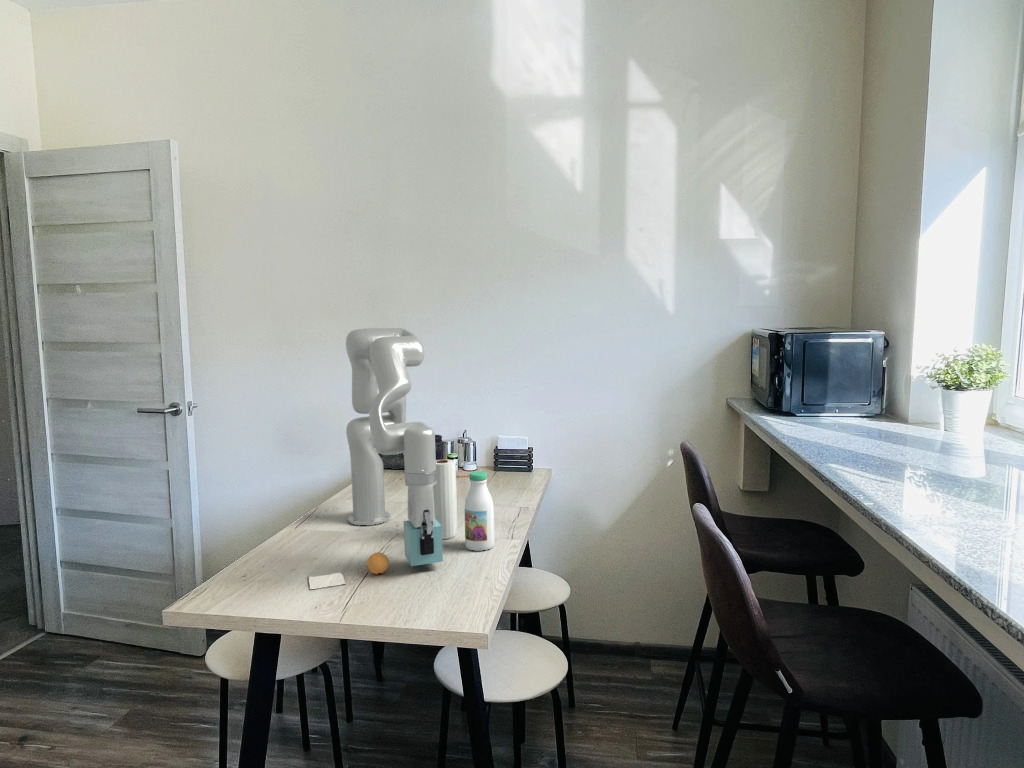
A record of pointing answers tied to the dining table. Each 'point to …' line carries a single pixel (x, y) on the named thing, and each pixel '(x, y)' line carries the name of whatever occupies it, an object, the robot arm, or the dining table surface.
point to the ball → (378, 563)
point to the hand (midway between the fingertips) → (423, 548)
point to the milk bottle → (479, 514)
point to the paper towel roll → (446, 497)
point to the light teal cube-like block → (413, 544)
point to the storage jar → (438, 447)
